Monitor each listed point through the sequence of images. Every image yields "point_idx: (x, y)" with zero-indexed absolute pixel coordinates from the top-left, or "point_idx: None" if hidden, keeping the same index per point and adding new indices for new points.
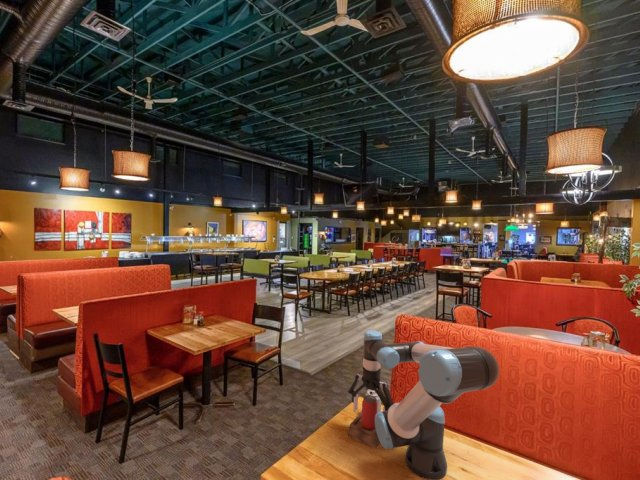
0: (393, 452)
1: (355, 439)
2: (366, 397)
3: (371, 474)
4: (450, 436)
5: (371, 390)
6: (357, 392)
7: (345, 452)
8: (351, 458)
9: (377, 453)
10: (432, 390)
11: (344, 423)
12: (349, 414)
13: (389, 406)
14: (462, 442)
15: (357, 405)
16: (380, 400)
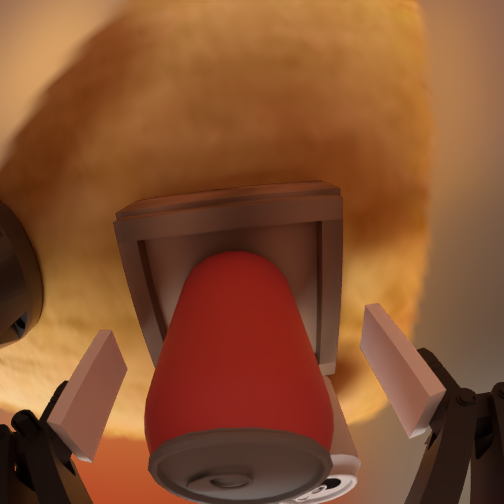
0: (74, 242)
1: (271, 184)
2: (302, 474)
3: (79, 46)
4: None
5: (337, 490)
6: (438, 459)
7: (255, 57)
8: (203, 44)
9: (117, 176)
10: None
11: (387, 263)
12: None
13: (4, 436)
14: None
15: (372, 364)
16: None
